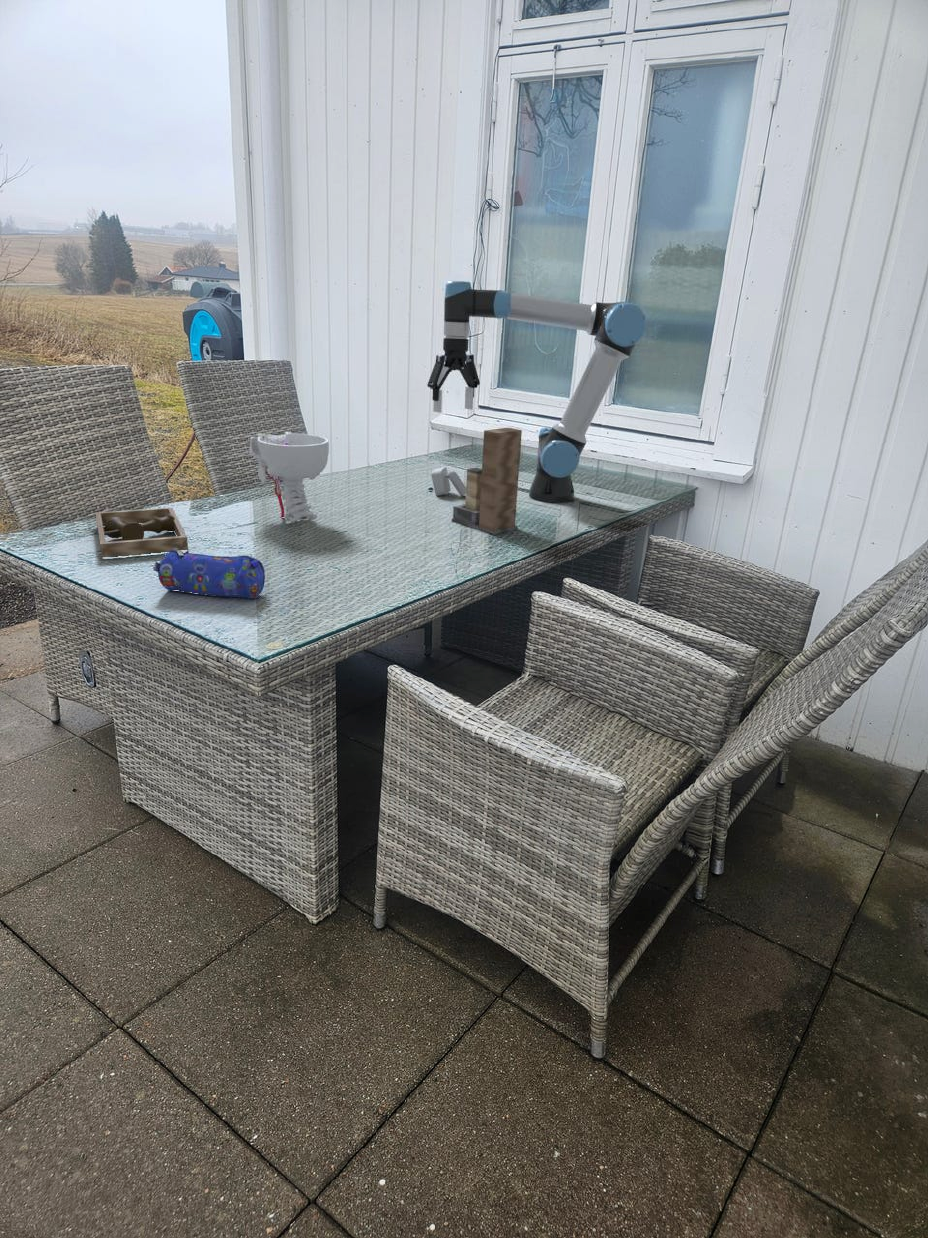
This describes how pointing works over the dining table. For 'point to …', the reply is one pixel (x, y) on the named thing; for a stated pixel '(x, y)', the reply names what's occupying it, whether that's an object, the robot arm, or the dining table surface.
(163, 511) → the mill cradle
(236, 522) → the dining table surface
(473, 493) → the beige wooden tall block
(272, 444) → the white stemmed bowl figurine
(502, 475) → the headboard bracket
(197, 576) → the pencil case
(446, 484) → the wall hook
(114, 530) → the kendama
